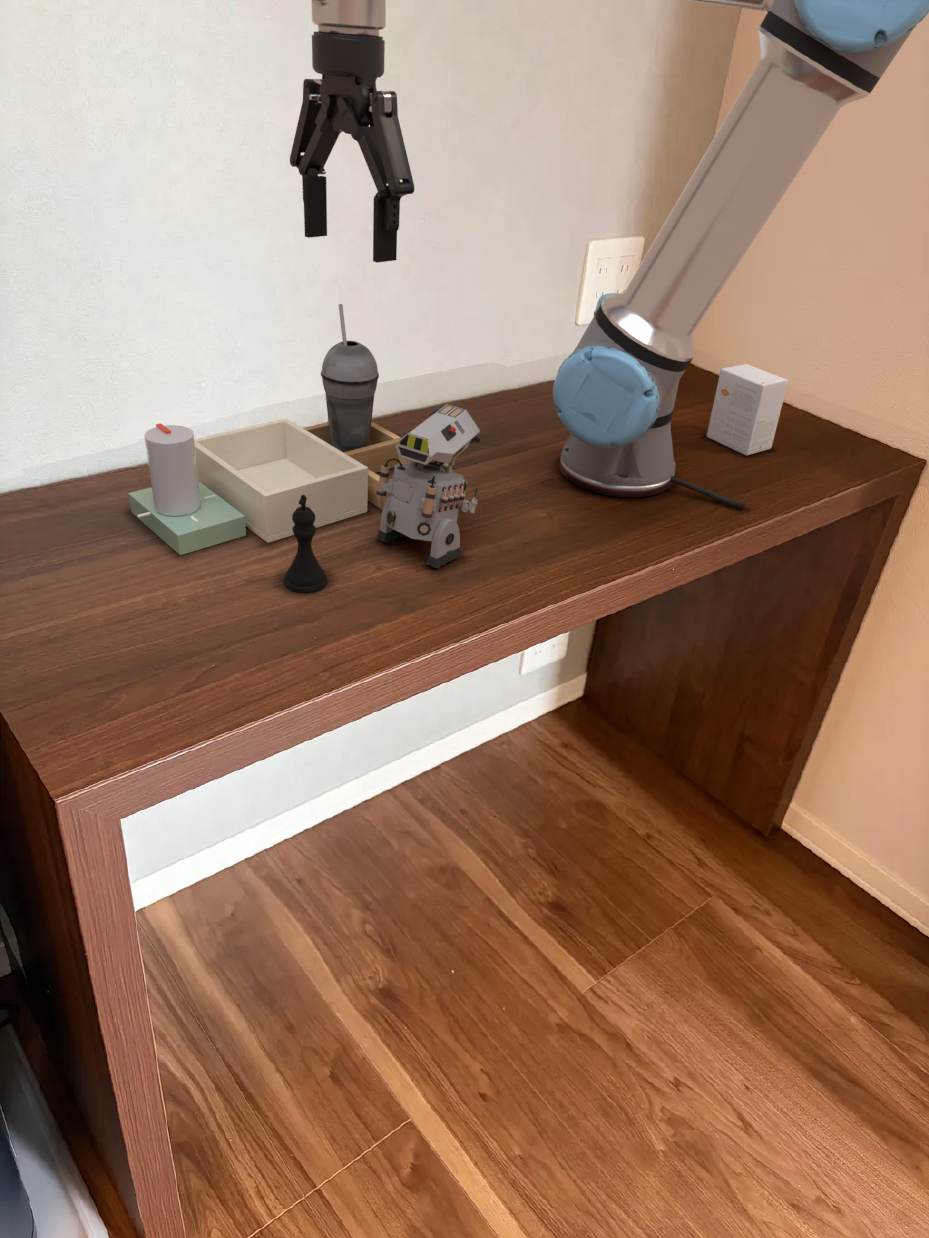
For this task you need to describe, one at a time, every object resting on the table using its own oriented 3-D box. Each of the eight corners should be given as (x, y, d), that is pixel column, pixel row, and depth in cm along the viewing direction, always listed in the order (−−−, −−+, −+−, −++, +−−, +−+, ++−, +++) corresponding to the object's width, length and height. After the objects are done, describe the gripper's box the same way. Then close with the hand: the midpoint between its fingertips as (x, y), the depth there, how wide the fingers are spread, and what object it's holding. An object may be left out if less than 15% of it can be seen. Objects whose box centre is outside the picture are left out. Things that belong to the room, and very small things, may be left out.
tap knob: (209, 509, 102) (201, 434, 97) (166, 520, 99) (157, 444, 94) (187, 492, 105) (179, 418, 100) (146, 503, 102) (135, 428, 97)
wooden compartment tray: (450, 490, 116) (451, 465, 114) (384, 511, 110) (385, 485, 108) (358, 438, 127) (359, 414, 125) (295, 454, 121) (294, 429, 119)
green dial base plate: (246, 535, 102) (245, 514, 101) (166, 560, 97) (163, 538, 95) (195, 495, 110) (193, 475, 108) (117, 516, 104) (114, 494, 103)
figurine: (494, 542, 105) (506, 417, 97) (425, 576, 98) (432, 445, 89) (435, 514, 110) (442, 393, 102) (366, 545, 102) (367, 417, 94)
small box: (771, 450, 134) (790, 380, 128) (745, 457, 131) (764, 385, 126) (730, 430, 140) (746, 362, 134) (704, 436, 137) (720, 367, 131)
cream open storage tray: (367, 512, 109) (368, 467, 106) (267, 543, 101) (264, 496, 98) (287, 460, 120) (286, 418, 117) (191, 485, 112) (187, 440, 109)
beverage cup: (368, 474, 118) (370, 317, 107) (314, 466, 119) (310, 309, 108) (384, 453, 124) (387, 301, 113) (332, 445, 125) (330, 294, 114)
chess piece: (278, 589, 94) (273, 501, 88) (292, 568, 97) (288, 482, 92) (319, 596, 93) (318, 507, 88) (332, 574, 97) (331, 488, 91)
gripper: (253, 21, 100) (263, 229, 112) (393, 38, 85) (389, 276, 97) (311, 25, 104) (315, 224, 116) (454, 41, 89) (443, 268, 101)
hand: (349, 248), depth 106 cm, fingers open, 13 cm apart
